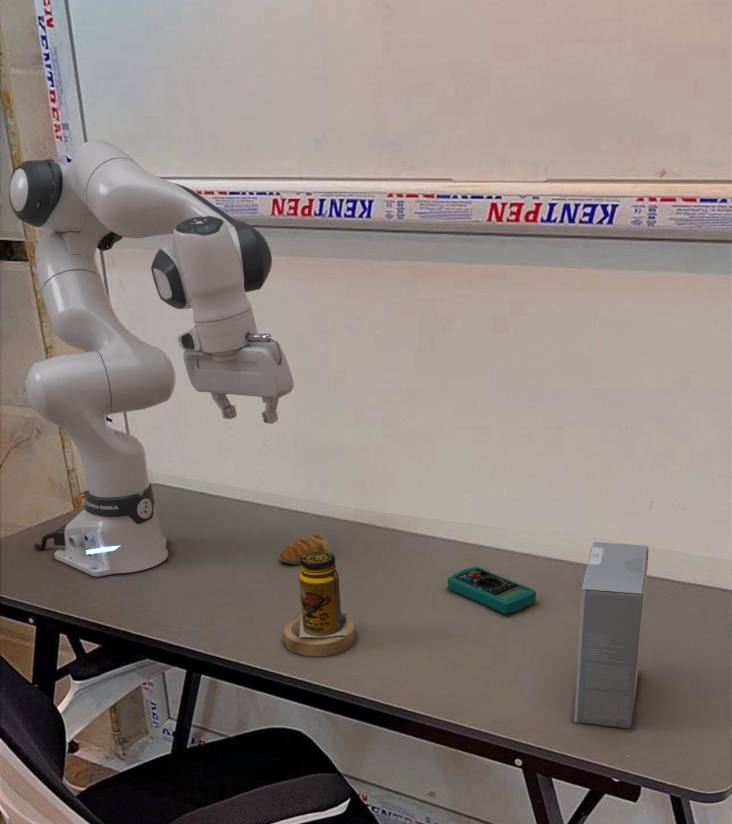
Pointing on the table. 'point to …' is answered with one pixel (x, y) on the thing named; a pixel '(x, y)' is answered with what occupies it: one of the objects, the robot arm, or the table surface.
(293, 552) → the pastry
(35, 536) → the table surface
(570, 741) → the table surface
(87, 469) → the robot arm
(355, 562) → the table surface
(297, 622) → the coaster
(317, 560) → the condiment
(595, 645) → the hard drive box
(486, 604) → the digital multimeter
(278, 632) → the table surface
